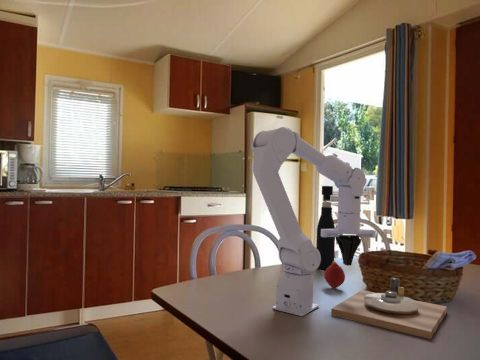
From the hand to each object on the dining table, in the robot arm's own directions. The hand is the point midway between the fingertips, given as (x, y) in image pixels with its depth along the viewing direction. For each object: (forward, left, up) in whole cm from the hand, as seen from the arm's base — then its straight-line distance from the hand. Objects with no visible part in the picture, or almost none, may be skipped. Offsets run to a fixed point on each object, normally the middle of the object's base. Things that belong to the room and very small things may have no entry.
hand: (347, 264), depth 101 cm
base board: (-3, -12, -9) cm, 16 cm away
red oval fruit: (+9, +7, -10) cm, 15 cm away
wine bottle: (+32, +20, -10) cm, 39 cm away
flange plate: (-1, -12, -7) cm, 14 cm away
